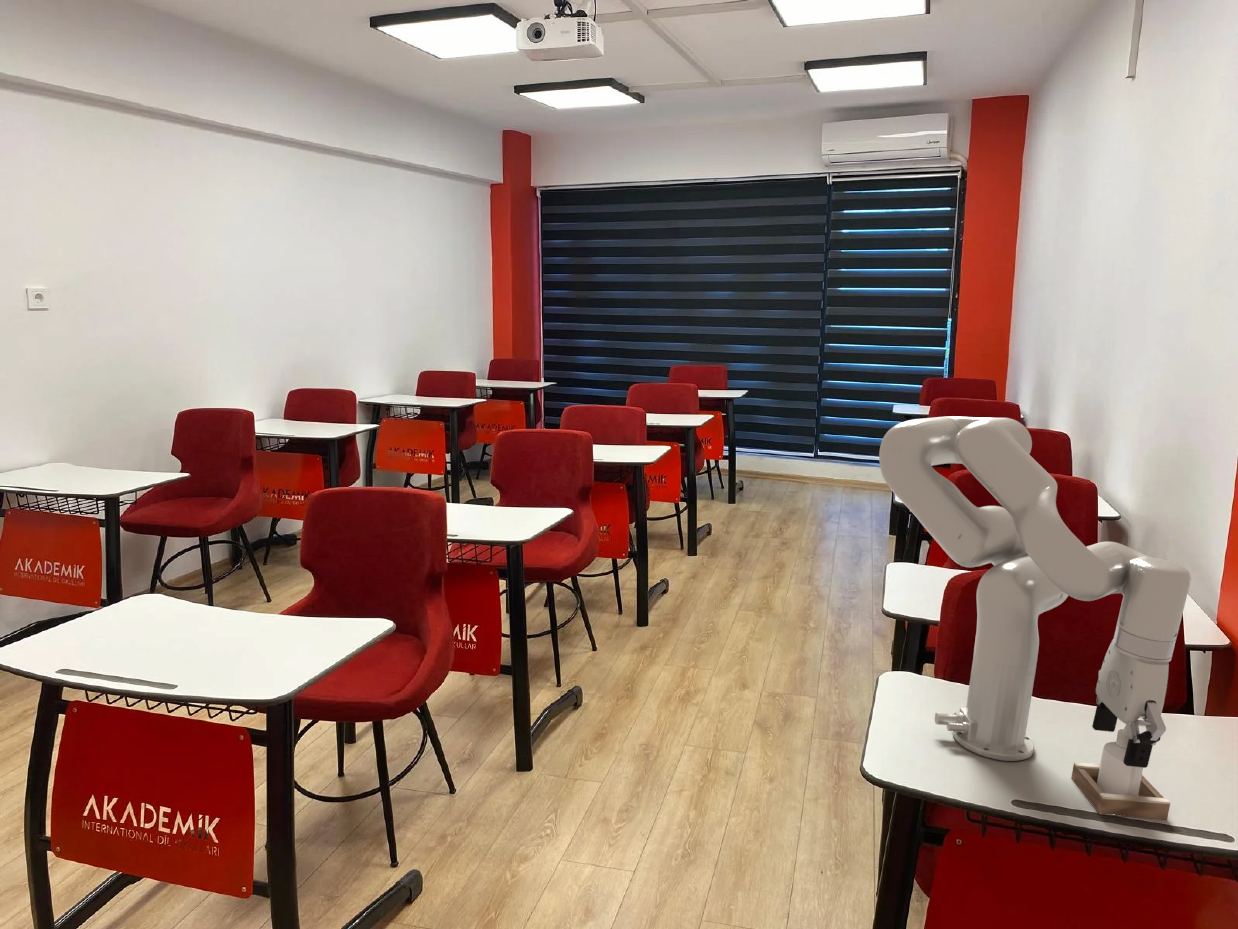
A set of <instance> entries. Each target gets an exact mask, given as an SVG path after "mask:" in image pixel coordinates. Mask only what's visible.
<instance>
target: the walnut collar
mask: <svg viewBox="0 0 1238 929" xmlns="http://www.w3.org/2000/svg"><path fill="white" fill-rule="evenodd" d="M1100 764H1101V763H1092V762H1091V763H1090V762H1089V763H1087V762H1077V761H1075V762H1073V766H1072V771H1071V778H1070V779H1071V780H1072V781H1073V783H1075V785H1076V786H1077V788H1078V789H1079V790H1080V792H1082V794H1083V795H1084V794H1085V795H1084V796H1085V798H1086V799H1087V798H1088V799H1087V800H1088V801H1089V802H1090V804H1091V803H1092V804H1093V805H1092V804H1091V805H1092V807H1094V809H1095V808H1096V809H1097V810H1098V811H1099V812H1098V811H1097V810H1096V809H1095V810H1096V811H1097V812H1098V814H1100V813H1101V814H1100V815H1104V814H1115V815H1114V816H1116V815H1121V816H1120V817H1130V818H1142V819H1153V820H1154V819H1155V820H1166V821H1167V820H1168V817H1169V812H1170V807H1171V801H1170V800H1169V799H1168V798H1165V797H1164V796H1163V795H1162V794H1161V793H1160V792H1159V790H1157V789H1156V788H1155V787H1154V785H1152V784H1151V783H1150V782H1149V780H1147V778H1146V777H1145V776H1143V775H1144V774H1142V777H1141V782H1140V788H1139V793H1138V796H1131V795H1118V794H1106V793H1104V792H1103V791H1102V789H1101V788H1100V787H1099V786H1098V785H1097V780H1098V775H1099V769H1100Z"/></svg>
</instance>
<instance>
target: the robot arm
mask: <svg viewBox="0 0 1238 929" xmlns="http://www.w3.org/2000/svg"><path fill="white" fill-rule="evenodd" d="M881 440H882V441H881V443H880V446H879V447H880V448H879V454H878V458H879V459H878V460H879V467H880V472H881V474H882V477H883V480H884V481H885V483H886V485H887V487H889V489H890V490H891V491H892V492H893V494H894V496H896V497H897V498H898V500H900V501H901V502H902V503H903V504H904V506H905V507H907V509H908V510H909V511H910V512H911V513H912V514H913V515H914V517H916V519H917V520H918V521H919V523H920V524H921V526H923V528H925V530H926V532H928V533H929V535H930V536H931V537H932V538H933V539H934V541H935V542H936V543H937V544H938V545H939V546H940V547H941V549H942V550H943V551H944V552H945V553H946V555H948V557H949V558H950V559H951V560H953V562H955V563H956V564H958V565H960V567H965V568H975V567H982V566H985V565H987V564H992V565H993V566H992V567H991V568H990V569H988V570H987V571H986V572H985V573H984V574H983V575H982V576H981V578H980V580H979V582H978V585H977V588H976V614H977V617H976V633H975V641H974V648H973V656H972V657H973V658H972V663H971V670H970V679H969V685H968V691H967V692H968V694H967V699H966V707H964V706H962V707H961V706H960V707H959V712H954V713H953V714H950V713H944V712H935V714H934V723H935V724H936V725H937V726H938V725H941V726H946V729H947V731H948V732H949V731H950V732H952V736H953V738H954V739H955V740H956V742H958V744H960V746H962V747H963V748H965V749H966V750H968V751H970V752H972V753H974V754H977V755H979V756H983V757H985V758H990V759H992V760H998V761H1005V762H1017V761H1019V762H1020V761H1023V760H1027V759H1029V758H1030V757H1032V756H1033V754H1034V750H1035V743H1034V741H1033V740H1032V738H1031V737H1030V736H1029V735H1028V734H1027V730H1028V729H1027V727H1028V721H1029V714H1030V708H1031V703H1032V702H1031V701H1032V695H1033V688H1034V681H1035V678H1036V672H1037V671H1036V669H1037V663H1038V654H1039V646H1040V637H1039V636H1040V635H1039V628H1038V625H1039V624H1038V619H1039V616H1040V615H1041V614H1043V613H1044V612H1047V611H1050V610H1052V609H1054V608H1057V607H1058V606H1060V605H1061V604H1062V603H1064V602H1065V601H1066V600H1067V598H1068V597H1071V598H1073V599H1075V600H1079V601H1084V602H1092V601H1095V600H1096V601H1097V600H1099V599H1102V598H1105V597H1106V596H1109V595H1113V594H1114V595H1115V594H1120V595H1122V596H1123V597H1122V601H1121V606H1120V608H1119V609H1120V610H1119V614H1118V617H1117V622H1116V627H1115V631H1114V635H1113V639H1112V640H1111V642H1110V645H1109V647H1108V649H1107V650H1106V653H1105V656H1104V659H1103V661H1102V665H1101V668H1100V669H1099V670H1098V674H1097V675H1098V679H1097V682H1096V687H1095V694H1096V695H1097V696H1096V704H1097V705H1096V709H1095V712H1094V717H1093V720H1092V726H1091V727H1092V729H1093V730H1095V731H1098V732H1099V731H1101V732H1108V733H1109V732H1110V733H1113V732H1115V730H1116V726H1117V721H1118V720H1119V721H1120V722H1122V723H1123V724H1125V725H1126V724H1130V727H1131V733H1132V739H1129V740H1128V744H1127V748H1126V753H1125V757H1124V761H1123V762H1124V764H1125V765H1126V766H1133V767H1143V769H1144V768H1147V767H1148V765H1149V762H1150V758H1151V754H1152V751H1153V746H1156V745H1157V743H1158V742H1159V741H1160V740H1161V738H1162V736H1163V735H1164V733H1165V732H1166V731H1167V726H1166V725H1165V723H1164V720H1163V717H1162V714H1163V708H1164V704H1165V698H1166V694H1167V689H1168V686H1167V685H1168V681H1169V667H1170V666H1169V665H1170V664H1169V662H1171V661H1172V658H1173V653H1174V650H1175V646H1176V645H1175V644H1176V641H1177V637H1178V634H1179V630H1180V625H1181V621H1182V617H1183V613H1184V609H1185V605H1186V601H1187V599H1188V593H1189V589H1190V585H1191V582H1192V581H1191V580H1192V578H1191V572H1190V570H1188V568H1186V567H1185V566H1183V565H1181V564H1180V563H1177V562H1174V561H1171V560H1168V559H1164V558H1159V557H1152V556H1150V555H1147V554H1144V553H1142V552H1140V551H1138V550H1136V549H1134V548H1131V547H1129V546H1127V545H1124V544H1122V543H1120V542H1115V541H1100V542H1097V543H1094V544H1091V545H1087V546H1086V545H1085V544H1084V543H1083V542H1082V541H1081V540H1080V539H1079V538H1078V537H1077V536H1076V535H1075V534H1074V533H1073V532H1072V531H1071V529H1069V527H1068V526H1067V525H1066V524H1065V522H1064V521H1063V519H1062V518H1061V515H1060V514H1059V511H1058V507H1057V503H1056V502H1057V495H1058V483H1057V481H1056V479H1055V478H1054V477H1053V476H1052V475H1051V474H1050V473H1049V472H1047V470H1046V469H1045V468H1043V466H1042V465H1041V464H1039V462H1037V461H1036V460H1035V459H1034V457H1032V456H1031V455H1030V454H1031V451H1032V446H1033V441H1032V436H1031V434H1030V432H1029V430H1028V429H1027V427H1025V425H1024V424H1022V423H1021V422H1019V421H1018V420H1016V419H1013V418H1011V417H1010V418H1009V417H975V416H974V417H973V416H937V417H936V416H935V417H926V418H925V417H924V418H914V419H913V418H912V419H909V420H905V421H902V422H899V423H897V424H895V425H894V426H892V427H891V428H890V429H888V431H887V432H886V433H885V434H884V436H883V438H882V439H881ZM944 464H962V465H963V466H964V467H965V468H966V469H967V470H968V471H969V473H970V474H972V476H974V478H975V479H976V480H977V481H978V482H979V483H980V484H981V485H982V486H983V487H984V488H985V489H986V490H987V491H988V492H989V493H990V495H992V497H993V498H994V499H995V500H996V501H997V502H998V503H999V504H1000V505H1001V506H1000V505H998V506H997V505H986V506H985V505H984V506H981V507H980V506H979V507H978V506H976V505H975V504H973V503H972V502H971V501H970V500H969V499H968V498H967V497H966V496H965V495H964V494H963V493H962V491H961V490H960V489H959V488H958V487H957V486H956V485H955V483H953V482H952V481H950V480H949V479H948V478H946V477H945V476H943V475H942V474H940V473H939V472H937V470H935V469H934V468H933V466H938V465H944ZM1140 719H1141V720H1140ZM1139 727H1144V728H1145V729H1146V730H1144V731H1142V732H1140V728H1139Z"/></svg>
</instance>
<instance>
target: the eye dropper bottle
mask: <svg viewBox="0 0 1238 929" xmlns="http://www.w3.org/2000/svg"><path fill="white" fill-rule="evenodd" d="M1129 739H1132V733H1131V727H1130V723H1129V724H1125V726H1124V728H1122V729H1119V730H1117V735H1116V741H1109V742H1106V743H1105V744H1104V746H1103V748H1102V752H1101V753H1102V754H1101V759H1100V763H1099V764H1100V769H1099V775H1098V780H1097V785H1098V786H1099V787H1100V788H1101V789H1102V791H1103V792H1104V793H1106V794H1118V795H1131V796H1139V795H1138V793H1139V788H1140V782H1141V777H1142V775H1143V769H1144V768H1143V767H1133V766H1126V765H1125V764H1124V762H1123V761H1124V757H1125V753H1126V748H1127V744H1128V740H1129Z"/></svg>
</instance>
